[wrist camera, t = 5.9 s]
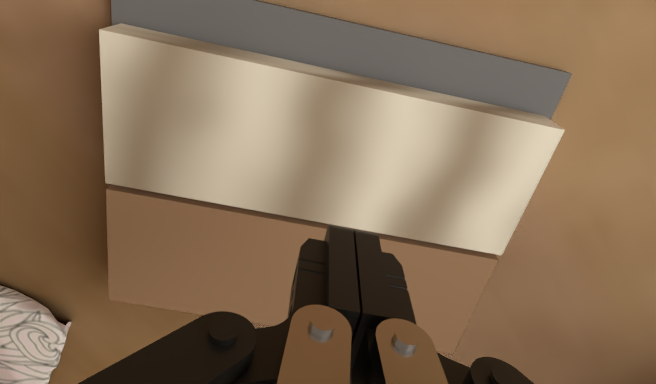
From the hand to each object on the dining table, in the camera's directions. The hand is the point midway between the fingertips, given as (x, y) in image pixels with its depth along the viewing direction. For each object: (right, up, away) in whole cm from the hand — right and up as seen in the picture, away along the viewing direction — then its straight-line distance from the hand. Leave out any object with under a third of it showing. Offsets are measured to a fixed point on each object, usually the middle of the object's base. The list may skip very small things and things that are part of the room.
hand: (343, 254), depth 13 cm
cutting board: (-1, +2, +10) cm, 11 cm away
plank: (0, +4, +8) cm, 10 cm away
